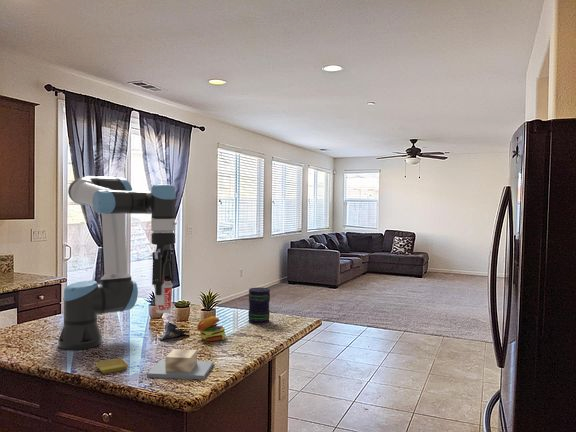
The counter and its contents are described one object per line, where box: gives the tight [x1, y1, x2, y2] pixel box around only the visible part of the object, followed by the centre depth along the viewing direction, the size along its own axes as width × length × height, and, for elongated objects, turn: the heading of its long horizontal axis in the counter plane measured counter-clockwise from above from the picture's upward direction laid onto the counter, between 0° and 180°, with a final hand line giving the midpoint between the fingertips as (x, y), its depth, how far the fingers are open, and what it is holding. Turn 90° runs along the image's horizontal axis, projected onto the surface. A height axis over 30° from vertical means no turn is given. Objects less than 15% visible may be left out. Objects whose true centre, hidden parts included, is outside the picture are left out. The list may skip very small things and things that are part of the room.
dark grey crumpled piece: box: [159, 321, 190, 341], centre depth 190 cm, size 12×7×12 cm
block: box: [164, 348, 198, 372], centre depth 151 cm, size 8×8×4 cm
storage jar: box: [247, 287, 271, 325], centre depth 215 cm, size 10×10×15 cm
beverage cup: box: [153, 279, 174, 314], centre depth 152 cm, size 6×6×14 cm
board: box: [146, 359, 214, 380], centre depth 151 cm, size 18×13×1 cm
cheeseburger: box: [196, 315, 227, 342], centre depth 188 cm, size 10×11×10 cm
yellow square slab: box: [94, 357, 129, 375], centre depth 152 cm, size 9×9×2 cm
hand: (163, 302), depth 152 cm, fingers closed on beverage cup, 6 cm apart
